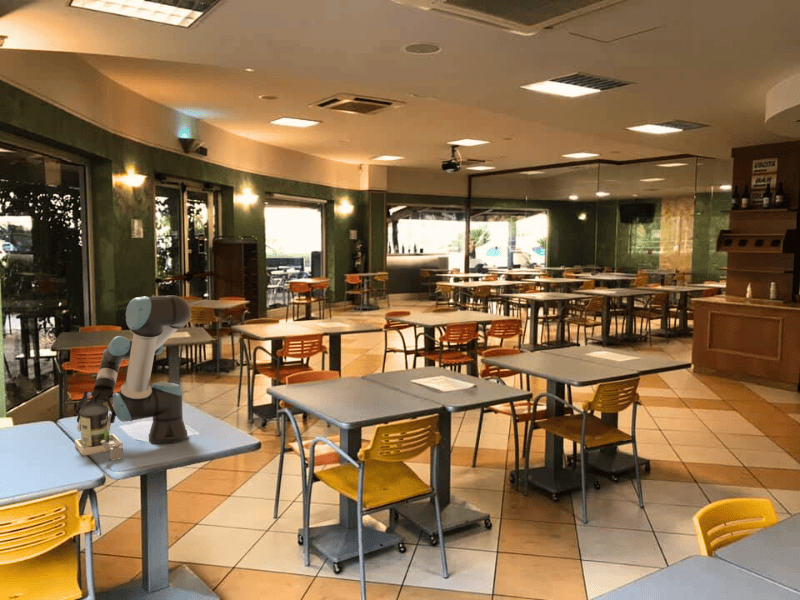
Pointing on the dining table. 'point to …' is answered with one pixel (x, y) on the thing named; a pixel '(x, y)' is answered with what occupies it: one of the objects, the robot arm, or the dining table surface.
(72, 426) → the dining table surface
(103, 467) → the dining table surface
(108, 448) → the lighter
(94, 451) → the pocket tray
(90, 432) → the coffee can
